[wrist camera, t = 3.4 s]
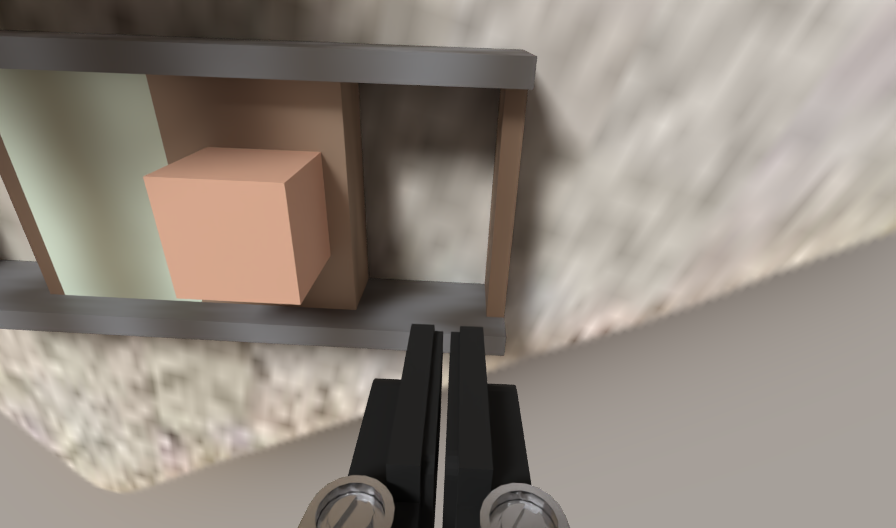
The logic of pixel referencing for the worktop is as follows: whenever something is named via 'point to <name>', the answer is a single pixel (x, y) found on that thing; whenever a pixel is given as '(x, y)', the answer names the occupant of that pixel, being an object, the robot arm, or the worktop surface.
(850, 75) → the worktop surface
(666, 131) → the worktop surface
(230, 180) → the terracotta block
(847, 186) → the worktop surface
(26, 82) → the box
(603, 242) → the worktop surface
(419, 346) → the robot arm
